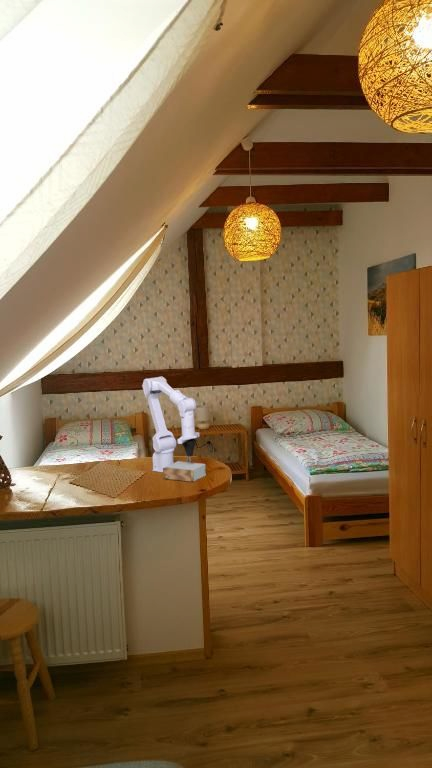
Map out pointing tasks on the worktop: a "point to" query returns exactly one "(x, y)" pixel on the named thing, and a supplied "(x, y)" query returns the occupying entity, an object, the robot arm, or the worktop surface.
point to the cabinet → (190, 468)
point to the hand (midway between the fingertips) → (189, 456)
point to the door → (178, 474)
